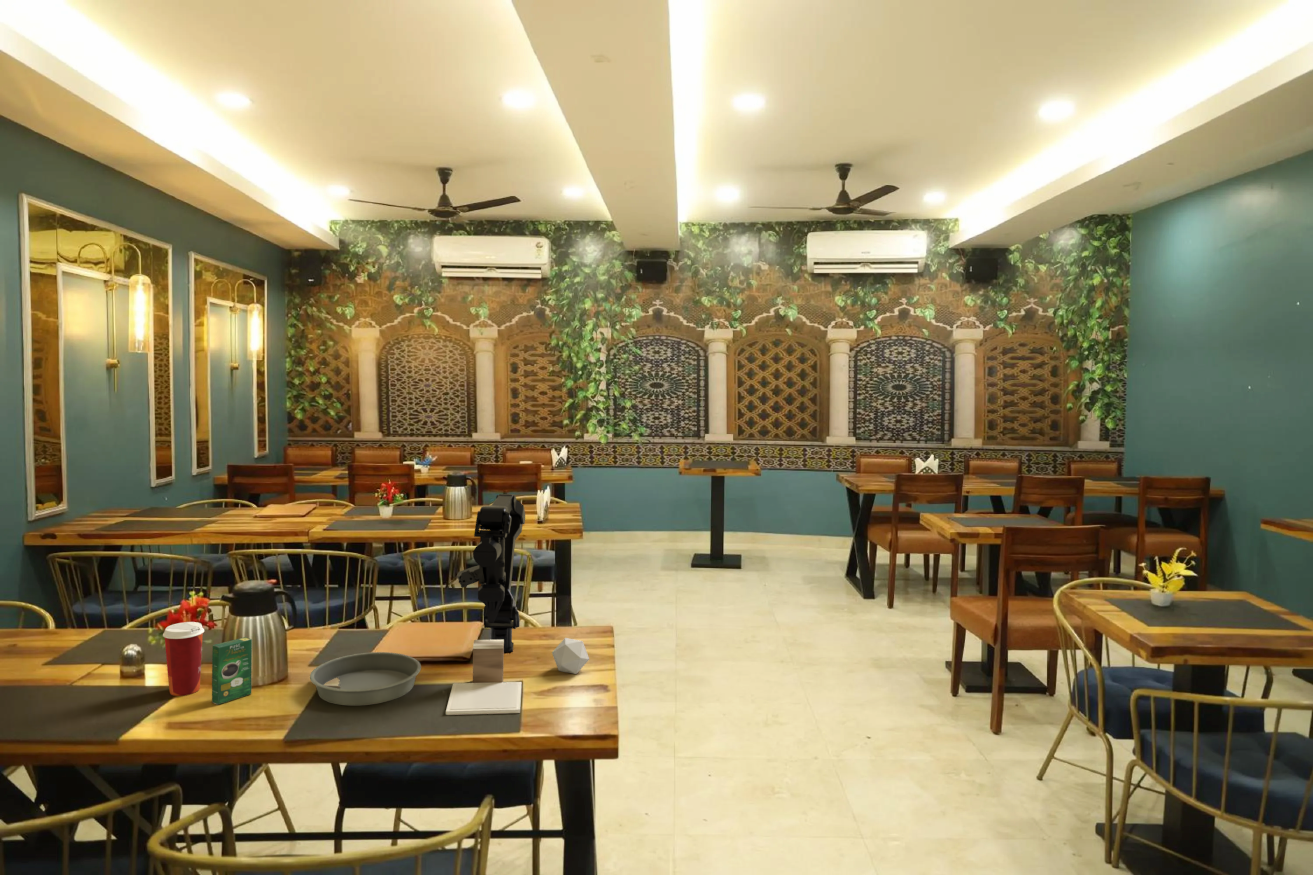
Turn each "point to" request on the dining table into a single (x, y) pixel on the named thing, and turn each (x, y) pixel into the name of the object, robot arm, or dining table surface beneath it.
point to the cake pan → (366, 678)
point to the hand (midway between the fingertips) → (491, 617)
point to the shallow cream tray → (484, 698)
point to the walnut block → (488, 661)
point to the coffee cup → (184, 657)
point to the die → (570, 655)
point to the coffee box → (231, 670)
